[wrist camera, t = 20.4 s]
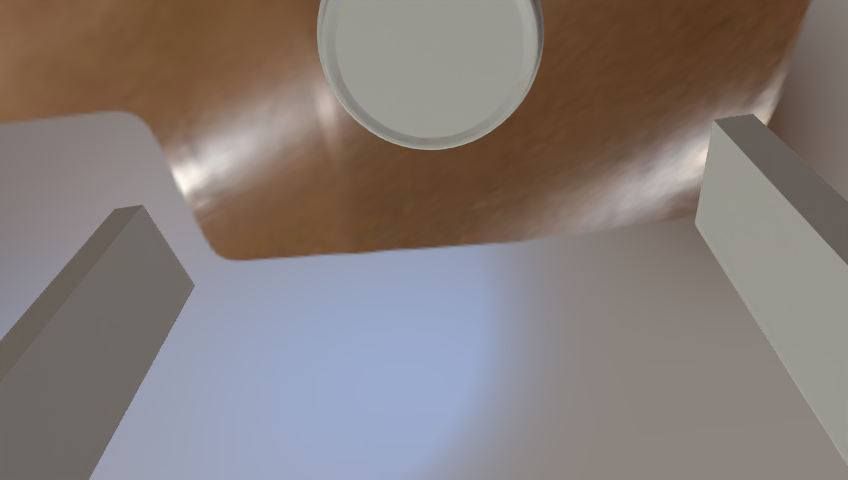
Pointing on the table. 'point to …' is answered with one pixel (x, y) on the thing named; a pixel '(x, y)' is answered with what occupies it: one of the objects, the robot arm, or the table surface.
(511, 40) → the coffee cup
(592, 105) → the table surface
